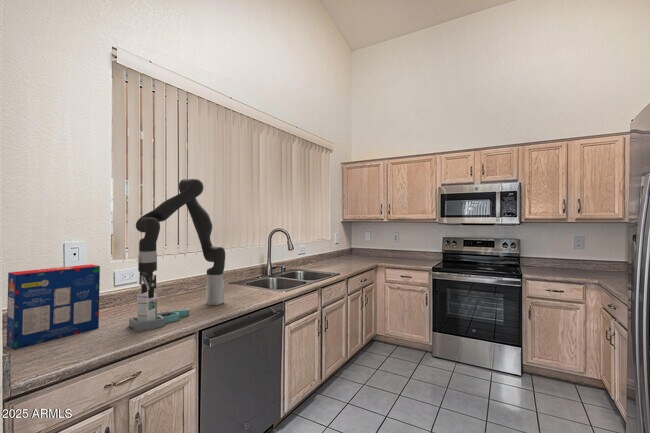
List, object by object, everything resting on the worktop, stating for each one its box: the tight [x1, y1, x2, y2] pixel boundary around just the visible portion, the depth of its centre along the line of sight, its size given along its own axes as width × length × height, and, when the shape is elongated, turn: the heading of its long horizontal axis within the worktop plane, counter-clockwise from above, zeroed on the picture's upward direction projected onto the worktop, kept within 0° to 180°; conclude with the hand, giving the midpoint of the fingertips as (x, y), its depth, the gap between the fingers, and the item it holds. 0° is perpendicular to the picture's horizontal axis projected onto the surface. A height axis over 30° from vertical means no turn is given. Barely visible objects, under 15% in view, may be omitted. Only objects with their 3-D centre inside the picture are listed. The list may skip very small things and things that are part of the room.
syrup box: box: [136, 291, 158, 323], centre depth 148 cm, size 6×6×14 cm
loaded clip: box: [170, 307, 190, 318], centre depth 164 cm, size 8×5×3 cm, turn 113°
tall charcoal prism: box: [157, 310, 171, 317], centre depth 160 cm, size 6×3×3 cm, turn 138°
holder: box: [128, 315, 165, 333], centre depth 147 cm, size 11×11×4 cm
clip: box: [159, 312, 181, 324], centre depth 155 cm, size 8×5×3 cm, turn 138°
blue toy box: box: [6, 263, 101, 351], centre depth 133 cm, size 28×8×28 cm, turn 149°
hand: (147, 296), depth 148 cm, fingers open, 8 cm apart
